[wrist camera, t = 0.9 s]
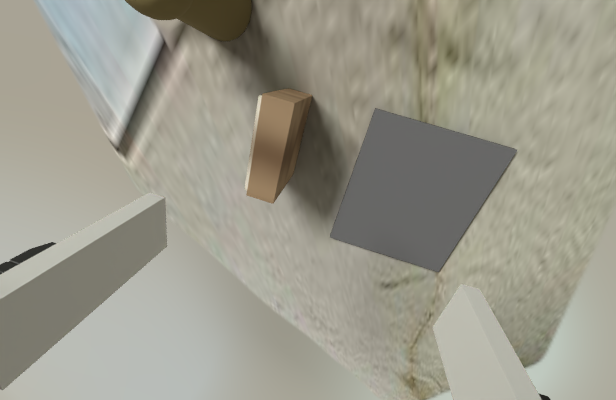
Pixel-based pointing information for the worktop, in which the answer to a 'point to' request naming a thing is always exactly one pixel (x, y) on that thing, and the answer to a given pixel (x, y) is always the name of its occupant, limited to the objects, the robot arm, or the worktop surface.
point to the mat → (416, 189)
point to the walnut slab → (276, 142)
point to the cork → (201, 14)
